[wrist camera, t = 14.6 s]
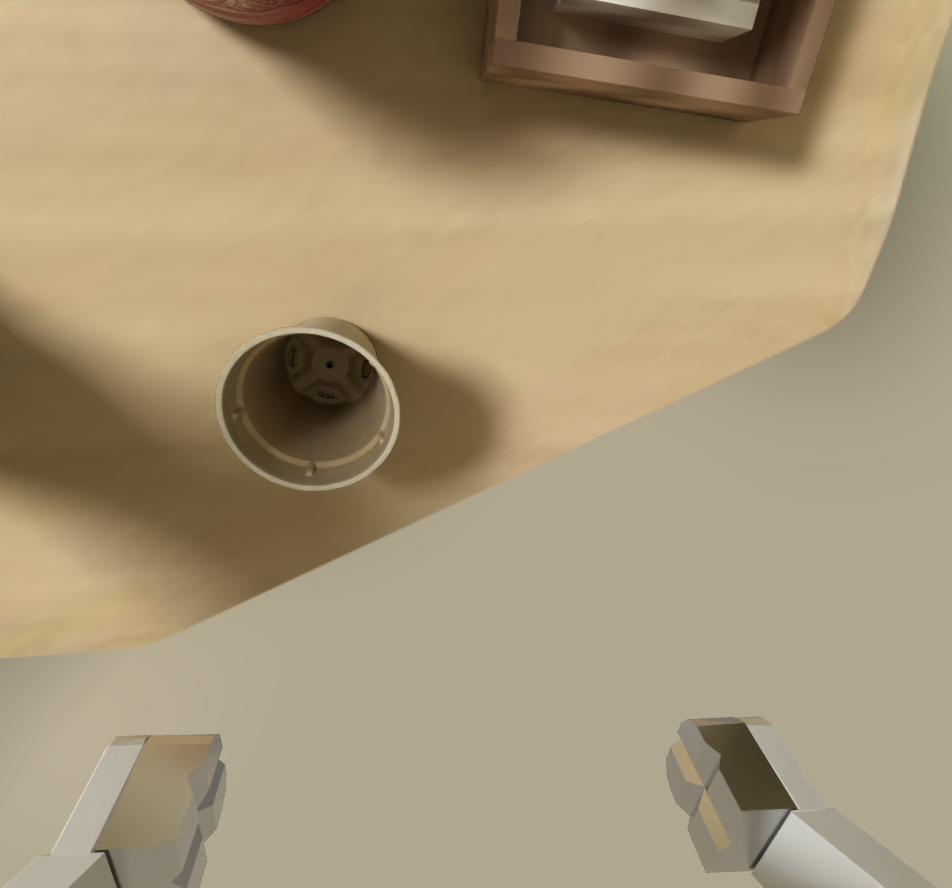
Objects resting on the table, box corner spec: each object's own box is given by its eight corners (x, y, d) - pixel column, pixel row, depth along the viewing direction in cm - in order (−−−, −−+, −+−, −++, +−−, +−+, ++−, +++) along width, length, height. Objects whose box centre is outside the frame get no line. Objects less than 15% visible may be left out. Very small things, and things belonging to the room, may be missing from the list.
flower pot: (417, 411, 38) (418, 471, 30) (287, 439, 38) (256, 507, 30) (381, 277, 33) (373, 308, 26) (234, 309, 33) (182, 350, 26)
